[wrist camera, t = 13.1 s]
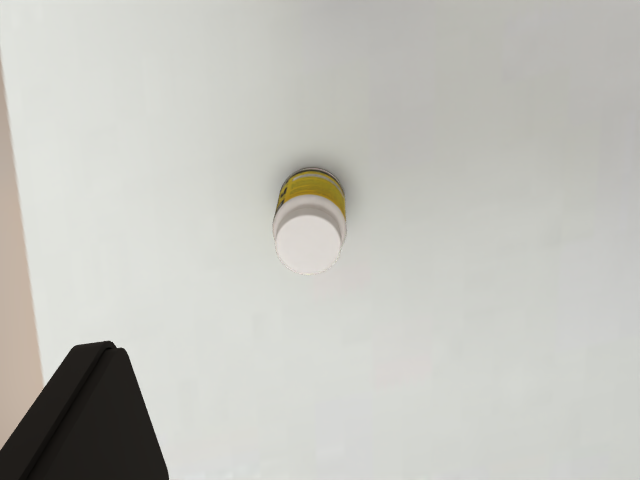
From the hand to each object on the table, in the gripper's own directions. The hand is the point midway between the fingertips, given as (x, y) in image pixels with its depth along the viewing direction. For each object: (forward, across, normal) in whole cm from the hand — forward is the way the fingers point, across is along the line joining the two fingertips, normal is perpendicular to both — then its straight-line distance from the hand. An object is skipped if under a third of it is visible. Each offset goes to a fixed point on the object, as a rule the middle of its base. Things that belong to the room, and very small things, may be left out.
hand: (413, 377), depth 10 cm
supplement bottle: (+34, +4, +8) cm, 35 cm away
